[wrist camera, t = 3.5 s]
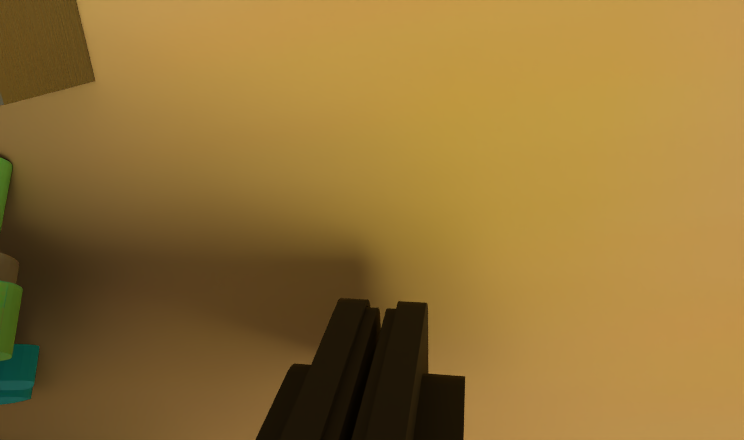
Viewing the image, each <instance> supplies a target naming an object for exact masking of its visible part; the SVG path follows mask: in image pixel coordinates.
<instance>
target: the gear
mask: <svg viewBox="0 0 744 440" xmlns="http://www.w3.org/2000/svg"><path fill="white" fill-rule="evenodd" d="M12 167H13V166H12V164H11V163H10V162H9V161H7V160H5V159H3V158H0V232H1V227H2V221H3V216H4V211H5V205H6V200H7V195H8V189H9V184H10V179H11V173H12ZM18 270H19V262H18V261H17V260H16V259H14V258H13V257H11V256H9V255H6V254H3V253H0V405H2V404H10V403H15V402H20V401H25V400H28V399H31V395H32V388H33V386H34V383H35V376H36V369H37V362H38V355H39V346H38V345H29V344H14V341H15V335H16V329H17V323H18V317H19V310H20V304H21V298H22V292H23V289H22V287H20V286H19V285H16V282H17V276H18Z"/></svg>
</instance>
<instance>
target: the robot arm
mask: <svg viewBox="0 0 744 440" xmlns="http://www.w3.org/2000/svg"><path fill="white" fill-rule="evenodd" d="M464 398H465V376H451V375H438V374H428V306H427V303H420V302H401V301H399V302H398V304H397V307H396V309H390V308H387V309H386V312H385V316H384V320H383V324H382V327H381V325H380V311H379V308H371V307H370V303H369V301H368V300H363V299H344V298H341V299H339V300H338V302H337V305H336V307H335V309H334V312H333V314H332V317H331V319H330V321H329V324H328V326H327V329H326V331H325V333H324V336H323V338H322V340H321V343H320V345H319V348H318V350H317V352H316V355H315V357H314V359H313V362H312V364H311V365H305V364H293V365H292V366H291V367H290V369H289V370H288V372H287V374H286V376H285V378H284V380H283V383H282V385H281V387H280V389H279V391H278V393H277V395H276V397H275V400H274V402H273V404H272V406H271V408H270V410H269V412H268V414H267V417H266V419H265V421H264V423H263V425H262V427H261V429H260V431H259V433H258V436H257V438H256V440H463V436H464Z"/></svg>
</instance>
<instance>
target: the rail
mask: <svg viewBox="0 0 744 440" xmlns="http://www.w3.org/2000/svg"><path fill="white" fill-rule="evenodd" d="M93 81H95V79H94V75H93V71H92V67H91V63H90V58H89V54H88V50H87V46H86V42H85V38H84V33H83V29H82V25H81V21H80V17H79V12H78V8H77V4H76V0H0V105H6V104H9V103H13V102H17V101H21V100H25V99H28V98H32V97H36V96H40V95H44V94H47V93H51V92H55V91H59V90H63V89H66V88H70V87H74V86H78V85H82V84H85V83H89V82H93Z"/></svg>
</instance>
